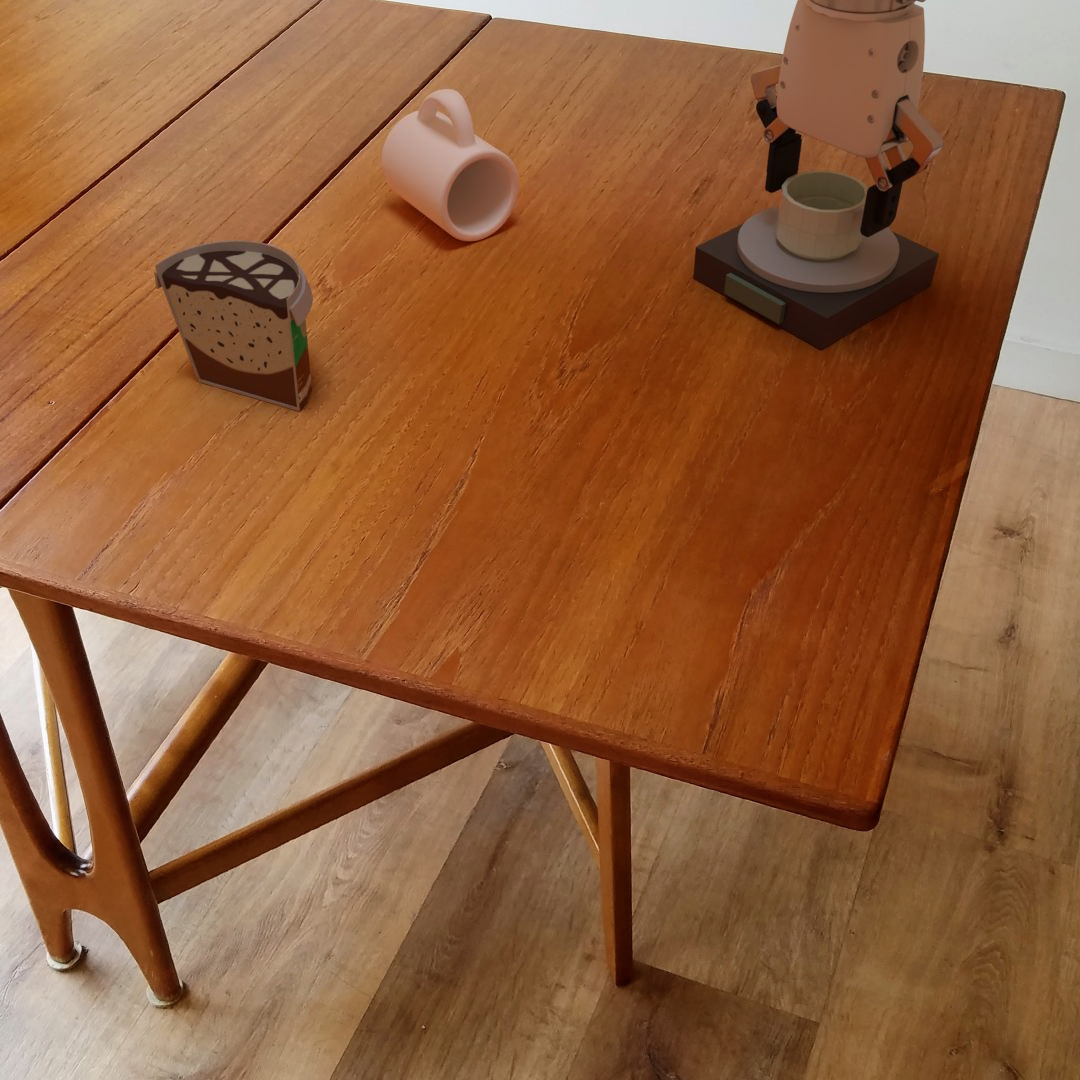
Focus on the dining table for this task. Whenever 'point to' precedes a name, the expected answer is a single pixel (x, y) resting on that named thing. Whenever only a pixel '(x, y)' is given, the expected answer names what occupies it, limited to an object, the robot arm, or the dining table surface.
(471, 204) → the mug
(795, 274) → the scale
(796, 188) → the bowl
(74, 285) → the dining table surface
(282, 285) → the food container
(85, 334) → the dining table surface
